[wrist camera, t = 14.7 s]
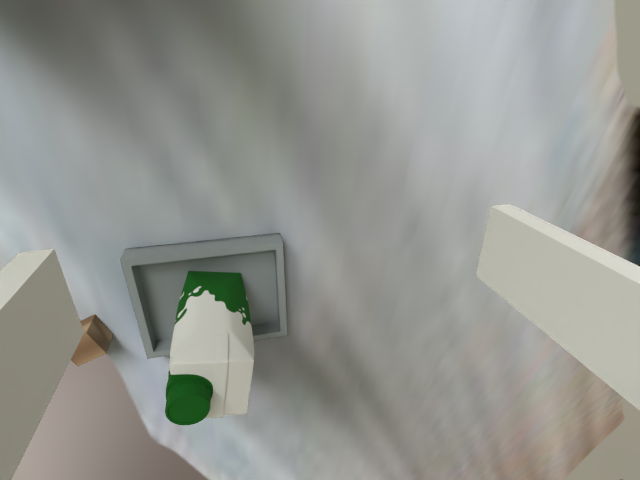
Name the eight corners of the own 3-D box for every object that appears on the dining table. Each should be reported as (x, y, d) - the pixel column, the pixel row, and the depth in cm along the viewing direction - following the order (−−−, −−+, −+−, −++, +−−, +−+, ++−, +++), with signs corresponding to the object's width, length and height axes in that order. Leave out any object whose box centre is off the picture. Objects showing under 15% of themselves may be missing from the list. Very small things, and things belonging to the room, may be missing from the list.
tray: (125, 248, 47) (120, 259, 44) (279, 232, 51) (282, 242, 48) (150, 344, 54) (147, 358, 51) (284, 323, 58) (287, 335, 56)
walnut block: (67, 326, 49) (56, 346, 46) (95, 314, 50) (86, 332, 46) (87, 345, 51) (77, 366, 48) (113, 333, 52) (106, 353, 48)
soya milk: (181, 264, 49) (160, 376, 31) (249, 267, 52) (265, 371, 34) (179, 317, 52) (160, 445, 35) (243, 317, 55) (254, 435, 38)
